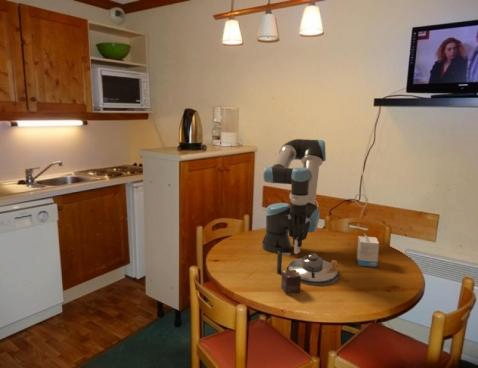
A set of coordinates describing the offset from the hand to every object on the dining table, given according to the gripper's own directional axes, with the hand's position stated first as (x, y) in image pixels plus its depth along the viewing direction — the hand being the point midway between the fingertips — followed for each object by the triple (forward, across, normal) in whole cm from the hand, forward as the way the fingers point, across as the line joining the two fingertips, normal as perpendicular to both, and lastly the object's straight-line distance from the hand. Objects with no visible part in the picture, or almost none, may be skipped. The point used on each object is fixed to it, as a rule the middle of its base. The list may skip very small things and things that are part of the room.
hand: (296, 252), depth 158 cm
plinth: (+7, +9, -1) cm, 11 cm away
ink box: (+8, +23, +26) cm, 36 cm away
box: (+7, +10, -20) cm, 24 cm away
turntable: (+7, +9, -1) cm, 11 cm away
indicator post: (+7, -1, -10) cm, 12 cm away
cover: (+4, +8, -1) cm, 10 cm away
